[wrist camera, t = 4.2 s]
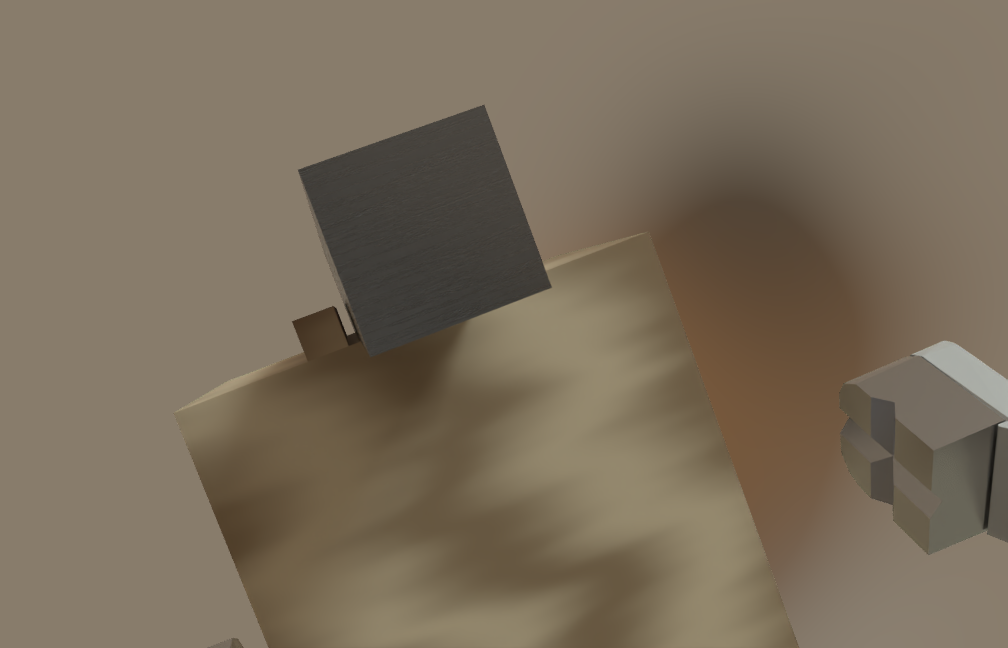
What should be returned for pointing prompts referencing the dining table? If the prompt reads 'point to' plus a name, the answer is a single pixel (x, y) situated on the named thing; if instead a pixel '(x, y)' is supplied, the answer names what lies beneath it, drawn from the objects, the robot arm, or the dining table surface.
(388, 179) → the steel block
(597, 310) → the maple stand
